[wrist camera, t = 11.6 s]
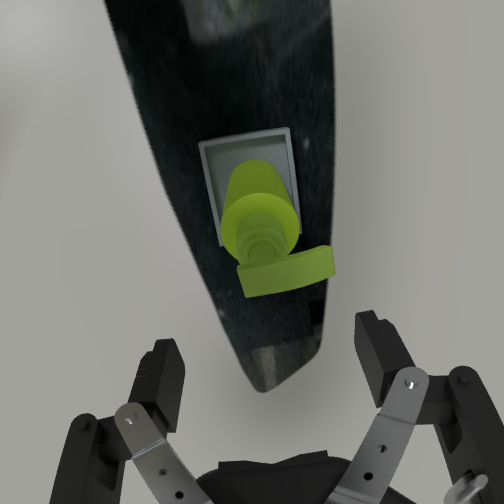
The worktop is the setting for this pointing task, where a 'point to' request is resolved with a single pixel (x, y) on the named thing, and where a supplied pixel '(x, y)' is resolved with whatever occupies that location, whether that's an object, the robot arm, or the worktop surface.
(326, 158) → the worktop surface
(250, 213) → the soap dispenser
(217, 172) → the tray
